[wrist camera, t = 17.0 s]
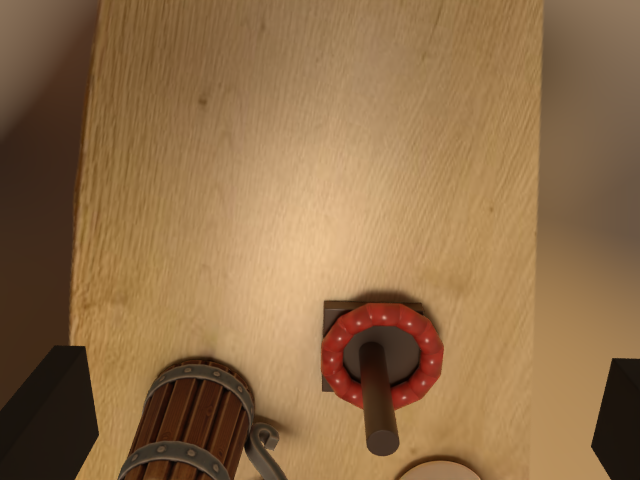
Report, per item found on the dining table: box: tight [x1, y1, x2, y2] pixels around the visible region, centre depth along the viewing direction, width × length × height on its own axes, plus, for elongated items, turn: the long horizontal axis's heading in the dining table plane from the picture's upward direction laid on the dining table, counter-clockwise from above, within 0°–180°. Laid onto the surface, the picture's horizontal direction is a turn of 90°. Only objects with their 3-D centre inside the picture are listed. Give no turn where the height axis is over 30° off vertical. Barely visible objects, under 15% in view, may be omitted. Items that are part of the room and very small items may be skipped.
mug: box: [117, 360, 287, 480], centre depth 50 cm, size 16×11×15 cm
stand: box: [322, 301, 424, 456], centre depth 48 cm, size 9×9×14 cm
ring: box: [321, 303, 444, 410], centre depth 52 cm, size 11×11×2 cm
